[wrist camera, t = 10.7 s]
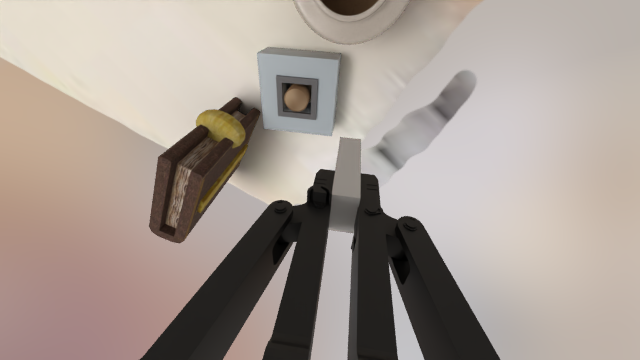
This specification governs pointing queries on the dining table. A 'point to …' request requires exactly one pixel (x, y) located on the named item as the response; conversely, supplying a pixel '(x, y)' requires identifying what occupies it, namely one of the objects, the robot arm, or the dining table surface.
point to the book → (198, 169)
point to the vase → (350, 18)
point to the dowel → (298, 97)
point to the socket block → (299, 69)
